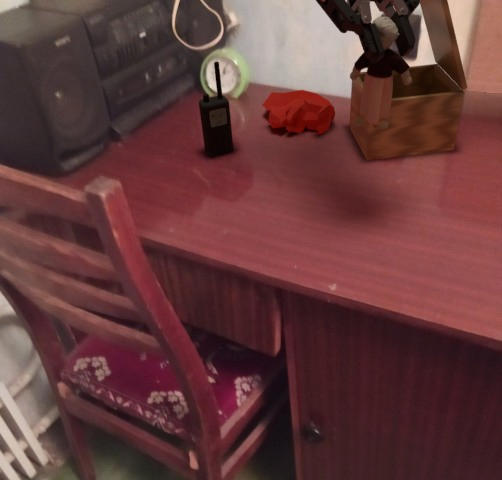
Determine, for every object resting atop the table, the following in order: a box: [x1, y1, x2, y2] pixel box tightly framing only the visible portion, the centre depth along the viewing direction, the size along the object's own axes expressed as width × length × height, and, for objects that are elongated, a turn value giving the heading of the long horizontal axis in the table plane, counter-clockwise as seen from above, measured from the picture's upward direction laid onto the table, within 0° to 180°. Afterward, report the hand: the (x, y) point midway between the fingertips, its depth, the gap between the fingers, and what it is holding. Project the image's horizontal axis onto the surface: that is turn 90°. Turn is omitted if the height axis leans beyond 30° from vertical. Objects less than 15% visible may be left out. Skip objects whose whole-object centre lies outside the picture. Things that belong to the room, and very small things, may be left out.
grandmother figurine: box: [349, 16, 412, 129], centre depth 71 cm, size 8×4×13 cm, turn 73°
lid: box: [419, 0, 468, 91], centre depth 88 cm, size 15×13×5 cm
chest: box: [349, 63, 465, 161], centre depth 98 cm, size 15×13×10 cm
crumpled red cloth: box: [262, 89, 336, 135], centre depth 107 cm, size 12×15×5 cm
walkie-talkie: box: [198, 61, 235, 158], centre depth 97 cm, size 5×3×15 cm
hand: (392, 55), depth 68 cm, fingers closed on grandmother figurine, 3 cm apart
